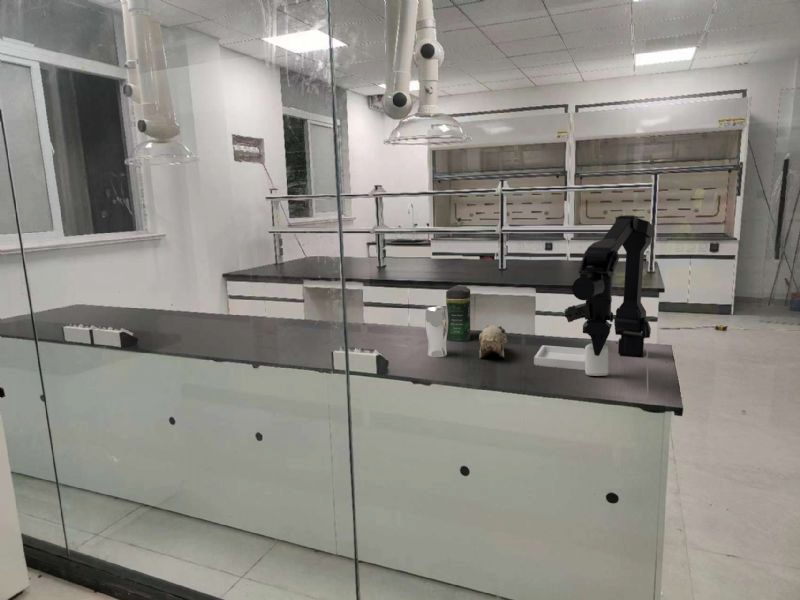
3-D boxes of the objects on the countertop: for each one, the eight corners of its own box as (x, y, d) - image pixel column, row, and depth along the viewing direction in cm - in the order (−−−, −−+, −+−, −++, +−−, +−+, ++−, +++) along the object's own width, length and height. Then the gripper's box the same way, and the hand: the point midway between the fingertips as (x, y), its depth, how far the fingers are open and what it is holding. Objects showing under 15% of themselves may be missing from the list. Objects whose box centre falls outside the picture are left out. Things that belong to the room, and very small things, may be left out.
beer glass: (451, 354, 167) (450, 306, 164) (445, 360, 160) (444, 310, 158) (429, 353, 169) (428, 305, 166) (423, 359, 162) (422, 310, 160)
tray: (590, 356, 160) (590, 348, 159) (586, 370, 147) (586, 361, 147) (542, 352, 165) (542, 345, 165) (533, 365, 153) (534, 357, 152)
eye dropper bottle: (605, 377, 139) (605, 330, 138) (583, 375, 142) (583, 329, 142) (609, 374, 142) (609, 329, 142) (588, 372, 146) (587, 328, 145)
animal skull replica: (511, 350, 170) (511, 319, 168) (504, 365, 154) (504, 331, 152) (485, 348, 172) (485, 318, 170) (475, 363, 156) (475, 330, 155)
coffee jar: (467, 344, 178) (467, 288, 174) (444, 343, 180) (443, 288, 177) (472, 337, 187) (472, 284, 184) (450, 336, 189) (449, 284, 186)
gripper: (571, 288, 151) (570, 342, 154) (562, 299, 134) (561, 360, 137) (614, 289, 147) (612, 345, 149) (610, 301, 130) (607, 364, 132)
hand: (597, 353), depth 142 cm, fingers closed on eye dropper bottle, 4 cm apart
